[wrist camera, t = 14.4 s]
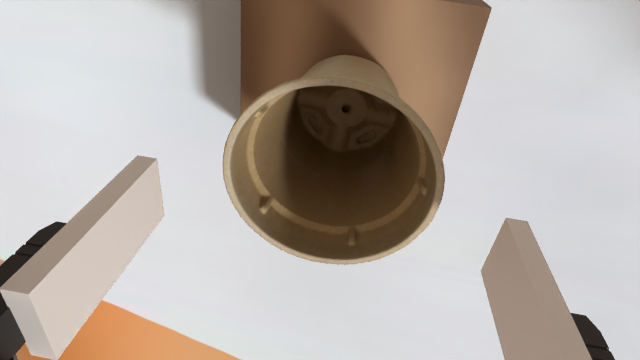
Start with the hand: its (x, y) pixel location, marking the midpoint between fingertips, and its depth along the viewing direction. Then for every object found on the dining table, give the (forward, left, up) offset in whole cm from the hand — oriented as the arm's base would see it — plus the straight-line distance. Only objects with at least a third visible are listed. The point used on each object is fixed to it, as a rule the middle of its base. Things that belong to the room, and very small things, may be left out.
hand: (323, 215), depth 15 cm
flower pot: (0, 0, -11) cm, 11 cm away
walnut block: (0, 0, -17) cm, 17 cm away
